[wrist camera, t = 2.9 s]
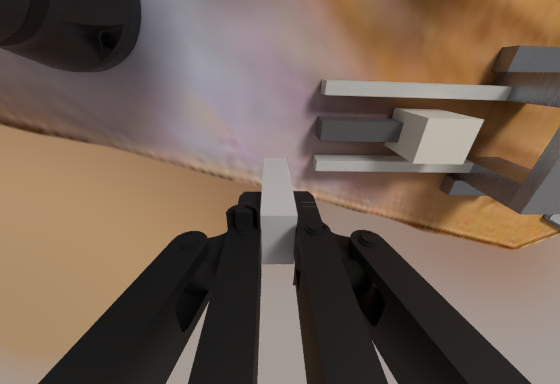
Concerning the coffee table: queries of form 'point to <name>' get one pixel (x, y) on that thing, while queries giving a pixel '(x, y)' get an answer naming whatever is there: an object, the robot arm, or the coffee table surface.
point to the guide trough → (409, 91)
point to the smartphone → (553, 218)
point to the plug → (409, 133)
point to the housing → (504, 174)
